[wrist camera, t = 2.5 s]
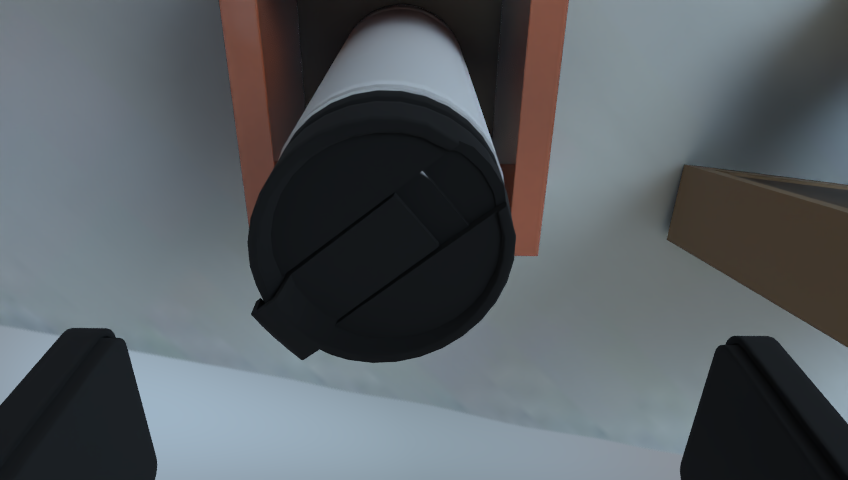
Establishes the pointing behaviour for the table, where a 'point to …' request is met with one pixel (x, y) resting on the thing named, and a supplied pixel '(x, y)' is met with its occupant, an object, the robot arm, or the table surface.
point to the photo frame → (771, 238)
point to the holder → (513, 111)
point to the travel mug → (384, 202)
